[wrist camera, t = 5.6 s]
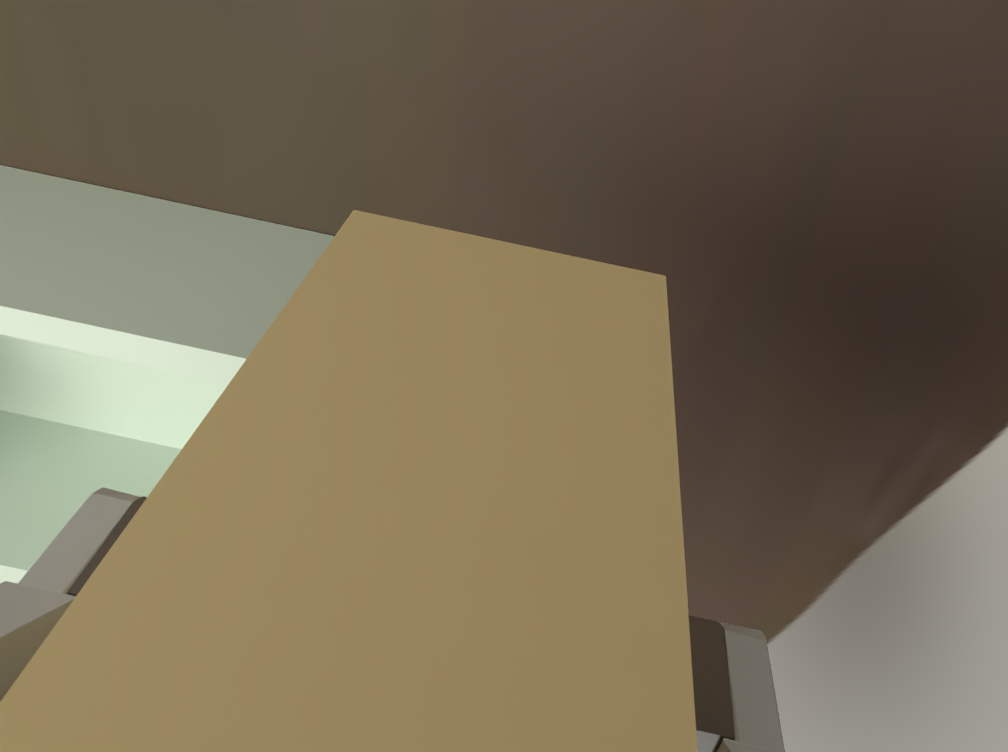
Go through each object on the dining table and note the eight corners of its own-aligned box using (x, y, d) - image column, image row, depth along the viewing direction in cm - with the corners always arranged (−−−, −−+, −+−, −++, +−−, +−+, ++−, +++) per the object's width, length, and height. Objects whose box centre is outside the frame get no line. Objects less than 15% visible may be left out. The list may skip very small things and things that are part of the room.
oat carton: (350, 206, 14) (-748, 1705, 3) (669, 274, 14) (806, 2079, 3) (331, 455, 16) (-256, 1691, 6) (595, 513, 16) (519, 1877, 6)
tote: (-253, 111, 33) (-519, 193, 25) (471, 265, 33) (422, 396, 25) (-174, 374, 39) (-367, 502, 32) (431, 505, 39) (383, 667, 31)
